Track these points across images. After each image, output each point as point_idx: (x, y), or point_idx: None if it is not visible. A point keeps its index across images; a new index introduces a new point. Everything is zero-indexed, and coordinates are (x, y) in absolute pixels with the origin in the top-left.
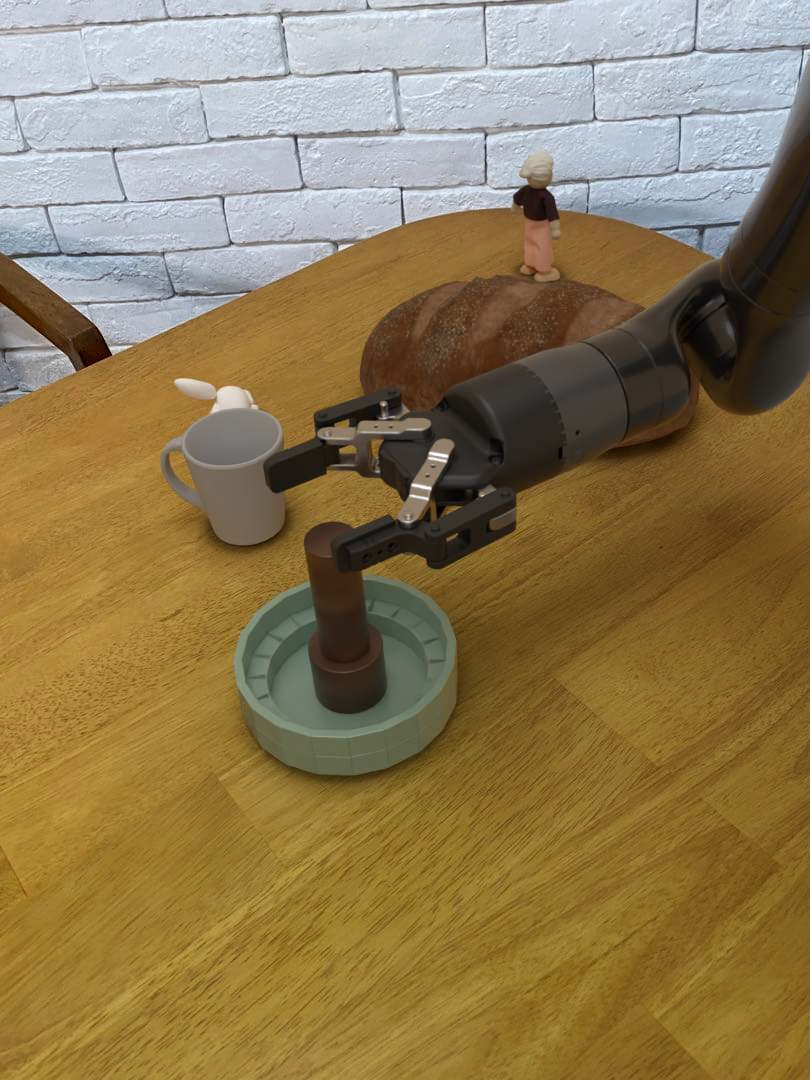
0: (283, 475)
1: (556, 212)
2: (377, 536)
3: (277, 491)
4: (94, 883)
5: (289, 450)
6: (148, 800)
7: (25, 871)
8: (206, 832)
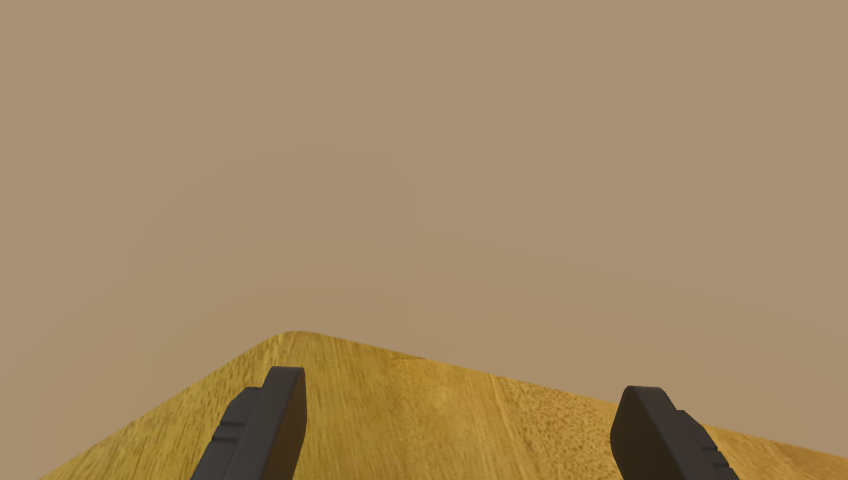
0: (633, 441)
1: None
2: (229, 455)
3: (613, 449)
4: (369, 389)
5: (693, 438)
6: (418, 444)
7: (410, 363)
8: (350, 470)
